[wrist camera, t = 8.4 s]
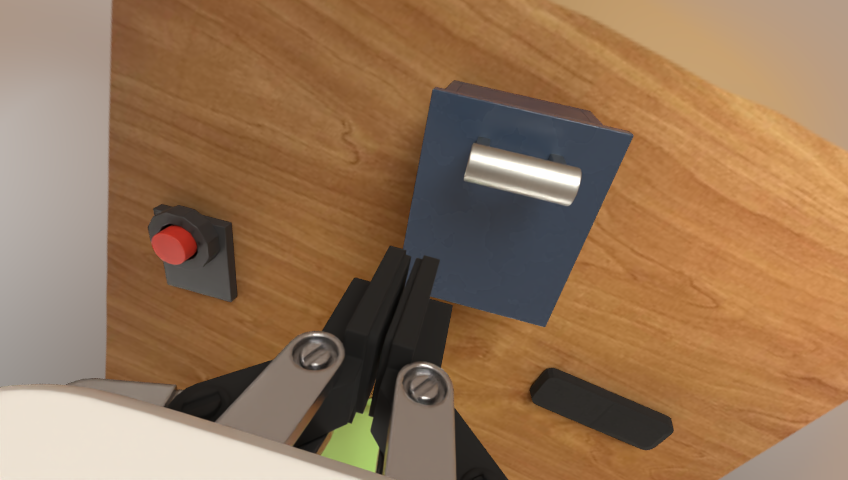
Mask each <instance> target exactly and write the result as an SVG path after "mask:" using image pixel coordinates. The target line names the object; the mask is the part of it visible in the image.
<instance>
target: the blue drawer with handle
mask: <svg viewBox="0 0 848 480" xmlns="http://www.w3.org/2000/svg"><path fill="white" fill-rule="evenodd" d="M632 138H633V134H632V133H631V132H629V131H625V130H621V129H617V128H612V127H608V126H604V125H599V124H595V123H590V122H586V121H582V120H577V119H573V118H569V117H564V116H560V115H556V114H551V113H547V112H543V111H538V110H534V109H529V108H525V107H521V106H516V105H512V104H508V103H503V102H499V101H495V100H490V99H486V98H482V97H477V96H473V95H468V94H464V93H460V92H455V91H451V90H447V89H442V88H438V87H435V88H434V89H433V90H432V96H431V101H430V106H429V112H428V117H427V123H426V128H425V133H424V139H423V144H422V150H421V155H420V160H419V166H418V171H417V177H416V182H415V187H414V193H413V198H412V204H411V209H410V214H409V220H408V225H407V230H406V236H405V241H404V247H403V249H404V250H406V255H409V256H411V262H410V266H409V270H408V275H407V279H406V283H407V280H408V278H409V275H410V273H411V270H412V268H413V265H414V262H415V260H416V258H420V259H423V257H424V255H426V256H429V257H433V258H436V259H440V262H439V266H438V270H437V273H436V277H435V281H434V284H433V288H432V291H431V295H430V296H431V297H434V298H438V299H442V300H445V301H449V302H453V303H457V304H460V305H464V306H468V307H471V308H475V309H479V310H483V311H486V312H490V313H494V314H498V315H501V316H505V317H509V318H512V319H516V320H520V321H524V322H527V323H531V324H535V325H538V326H542V327H545V326H546V324H547V322H548V320H549V318H550V316H551V313H552V311H553V309H554V307H555V305H556V303H557V300H558V298H559V296H560V294H561V292H562V290H563V287H564V285H565V283H566V281H567V279H568V277H569V274H570V272H571V270H572V268H573V266H574V264H575V261H576V259H577V257H578V255H579V253H580V251H581V248H582V246H583V244H584V242H585V240H586V238H587V235H588V233H589V231H590V229H591V227H592V225H593V222H594V220H595V218H596V216H597V214H598V212H599V209H600V207H601V205H602V203H603V201H604V199H605V196H606V194H607V192H608V190H609V188H610V186H611V184H612V181H613V179H614V177H615V175H616V173H617V171H618V168H619V166H620V164H621V162H622V160H623V158H624V155H625V153H626V151H627V149H628V147H629V145H630V142H631V140H632ZM405 286H406V284H405Z"/></svg>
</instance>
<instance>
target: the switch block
mask: <svg viewBox="0 0 848 480" xmlns="http://www.w3.org/2000/svg"><path fill="white" fill-rule="evenodd" d="M153 210H154V215H155V216H153V218H152V220H151V222H150V224H149V226H148V230H149V235H150V240H151V243H152V238H153V236H154V235H155V234H157V233H159V232H160V231H162V230H164V229H165V228H167V227H169V226H174V225H175V226H180V227H182V228H184V229H185V230H187V231H188V232H189V233H191V235H192V237H193V238H194V240H195V241H196V243H197V251H196V253H195V254H194V255H193V256H191V257H190V258H189V259H187V260H186V261H184V262H183V263H181V264H178V265H174V264H170V263H167V262H165V261H164V260H163V262H164V268H165V273H166V278H167V283H168V285H172V286H175V287H179V288H183V289H186V290H190V291H193V292H197V293H200V294H204V295H208V296H211V297H215V298H218V299H222V300H225V301H229V302H232V301H233V300H234V299H235V298H236V297H237V286H236V273H235V260H234V247H233V234H232V223H231V222H227V221H223V220H220V219H216V218H212V217H208V216H204V215H201V214H200V213H199V212H197V211H196V210H195V209H191V208H188V207H184V206H180V205H178V206H175V207H170V206H167V205H163V204H161V205H159V206H157V207H155V208H154V209H153Z"/></svg>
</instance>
